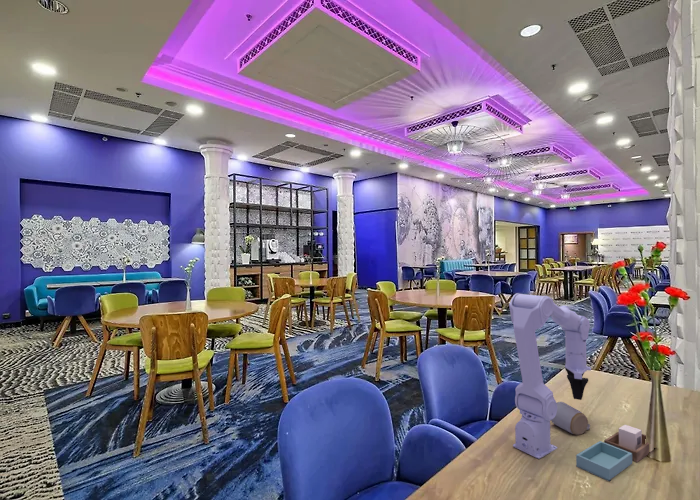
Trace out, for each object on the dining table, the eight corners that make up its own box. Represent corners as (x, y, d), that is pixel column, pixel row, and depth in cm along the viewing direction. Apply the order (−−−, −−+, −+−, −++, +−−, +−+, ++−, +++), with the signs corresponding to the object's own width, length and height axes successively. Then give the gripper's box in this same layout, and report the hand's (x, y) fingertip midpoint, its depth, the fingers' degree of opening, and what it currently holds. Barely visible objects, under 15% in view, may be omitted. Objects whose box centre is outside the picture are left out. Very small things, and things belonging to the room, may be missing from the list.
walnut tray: (636, 464, 98) (636, 452, 98) (604, 450, 104) (604, 440, 104) (656, 449, 104) (656, 438, 104) (624, 437, 111) (624, 427, 111)
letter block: (636, 454, 101) (636, 434, 101) (618, 447, 105) (618, 428, 105) (642, 450, 103) (642, 430, 103) (625, 443, 107) (624, 424, 107)
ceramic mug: (572, 438, 111) (572, 413, 111) (549, 426, 119) (549, 402, 119) (597, 433, 115) (597, 408, 115) (574, 421, 122) (573, 398, 122)
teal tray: (609, 481, 91) (609, 469, 91) (576, 466, 97) (576, 454, 97) (632, 464, 97) (632, 453, 97) (600, 451, 104) (599, 440, 104)
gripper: (593, 359, 110) (594, 405, 110) (587, 348, 123) (588, 389, 123) (566, 356, 114) (566, 401, 114) (563, 346, 127) (564, 385, 127)
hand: (576, 394), depth 119 cm, fingers open, 7 cm apart
